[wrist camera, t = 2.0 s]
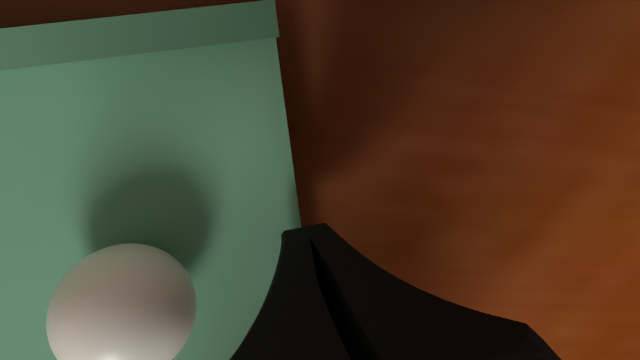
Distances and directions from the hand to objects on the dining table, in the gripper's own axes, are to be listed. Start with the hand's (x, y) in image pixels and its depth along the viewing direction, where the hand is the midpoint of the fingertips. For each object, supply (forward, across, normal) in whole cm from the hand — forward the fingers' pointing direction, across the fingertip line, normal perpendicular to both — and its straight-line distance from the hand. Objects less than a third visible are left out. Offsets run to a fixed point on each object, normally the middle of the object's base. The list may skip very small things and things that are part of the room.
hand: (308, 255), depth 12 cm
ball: (-1, +5, 0) cm, 5 cm away
